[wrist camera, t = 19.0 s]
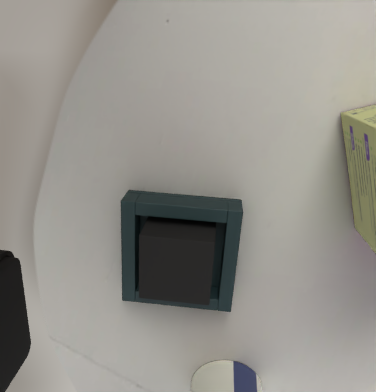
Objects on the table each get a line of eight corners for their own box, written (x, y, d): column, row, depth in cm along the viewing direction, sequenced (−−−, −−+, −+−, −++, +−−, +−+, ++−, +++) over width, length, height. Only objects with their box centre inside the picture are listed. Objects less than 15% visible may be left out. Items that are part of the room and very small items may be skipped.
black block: (147, 271, 34) (138, 298, 30) (148, 214, 32) (138, 235, 28) (210, 278, 34) (209, 305, 30) (216, 220, 31) (215, 242, 28)
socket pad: (129, 284, 35) (122, 300, 33) (128, 189, 32) (120, 200, 29) (230, 294, 35) (230, 312, 32) (241, 199, 31) (243, 211, 29)
